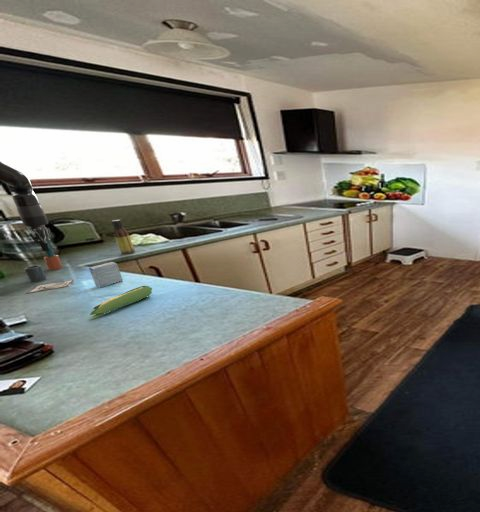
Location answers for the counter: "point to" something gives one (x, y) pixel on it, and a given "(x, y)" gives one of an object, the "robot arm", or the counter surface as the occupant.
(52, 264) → the pen cup
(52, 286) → the beige cloth
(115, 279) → the medicine box
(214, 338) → the counter surface
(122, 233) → the sauce bottle
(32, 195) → the robot arm
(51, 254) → the marker
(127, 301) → the edible corn
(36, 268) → the stand
